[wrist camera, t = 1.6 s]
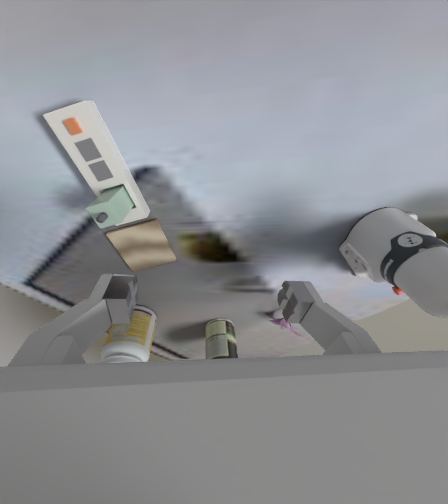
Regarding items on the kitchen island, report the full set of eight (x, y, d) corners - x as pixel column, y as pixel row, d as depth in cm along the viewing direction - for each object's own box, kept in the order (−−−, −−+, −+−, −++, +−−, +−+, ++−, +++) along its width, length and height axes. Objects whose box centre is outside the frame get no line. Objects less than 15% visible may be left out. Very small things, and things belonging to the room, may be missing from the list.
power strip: (150, 211, 44) (146, 218, 41) (120, 219, 45) (115, 227, 42) (93, 100, 33) (82, 100, 30) (54, 114, 33) (39, 114, 30)
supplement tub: (108, 310, 62) (82, 367, 49) (143, 298, 60) (126, 355, 47) (132, 330, 69) (115, 386, 56) (164, 321, 67) (154, 375, 54)
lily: (261, 300, 67) (259, 331, 63) (298, 300, 61) (299, 334, 57) (272, 309, 76) (271, 336, 72) (305, 309, 70) (307, 339, 66)
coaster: (176, 258, 53) (176, 260, 52) (134, 269, 54) (132, 271, 53) (156, 218, 45) (155, 220, 45) (107, 231, 46) (105, 234, 46)
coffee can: (238, 320, 71) (245, 362, 59) (227, 336, 76) (231, 377, 65) (211, 315, 68) (212, 357, 56) (201, 332, 73) (200, 374, 62)
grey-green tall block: (137, 200, 43) (118, 227, 33) (119, 205, 43) (96, 233, 34) (127, 181, 40) (104, 205, 31) (108, 187, 41) (80, 212, 31)
